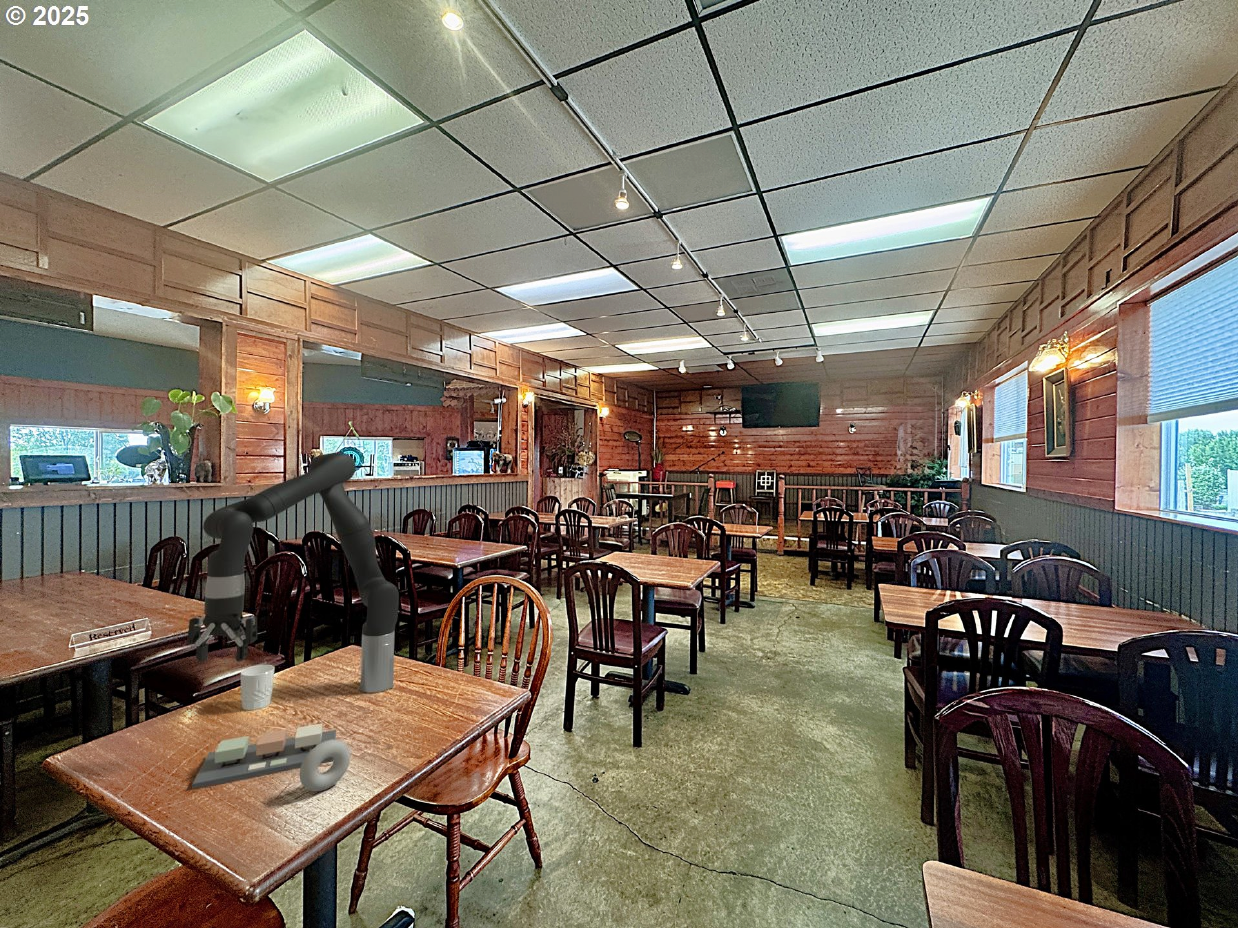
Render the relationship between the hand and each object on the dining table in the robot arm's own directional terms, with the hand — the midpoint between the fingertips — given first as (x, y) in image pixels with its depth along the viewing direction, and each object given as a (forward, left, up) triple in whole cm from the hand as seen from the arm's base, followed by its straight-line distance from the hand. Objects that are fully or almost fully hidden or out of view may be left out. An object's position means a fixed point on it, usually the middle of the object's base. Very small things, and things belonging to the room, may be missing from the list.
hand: (221, 660), depth 122 cm
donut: (-24, +26, -22) cm, 42 cm away
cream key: (-19, +9, -20) cm, 29 cm away
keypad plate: (-12, +9, -22) cm, 26 cm away
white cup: (-4, -24, -22) cm, 32 cm away
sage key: (-4, +9, -20) cm, 23 cm away
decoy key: (-12, +9, -20) cm, 25 cm away
